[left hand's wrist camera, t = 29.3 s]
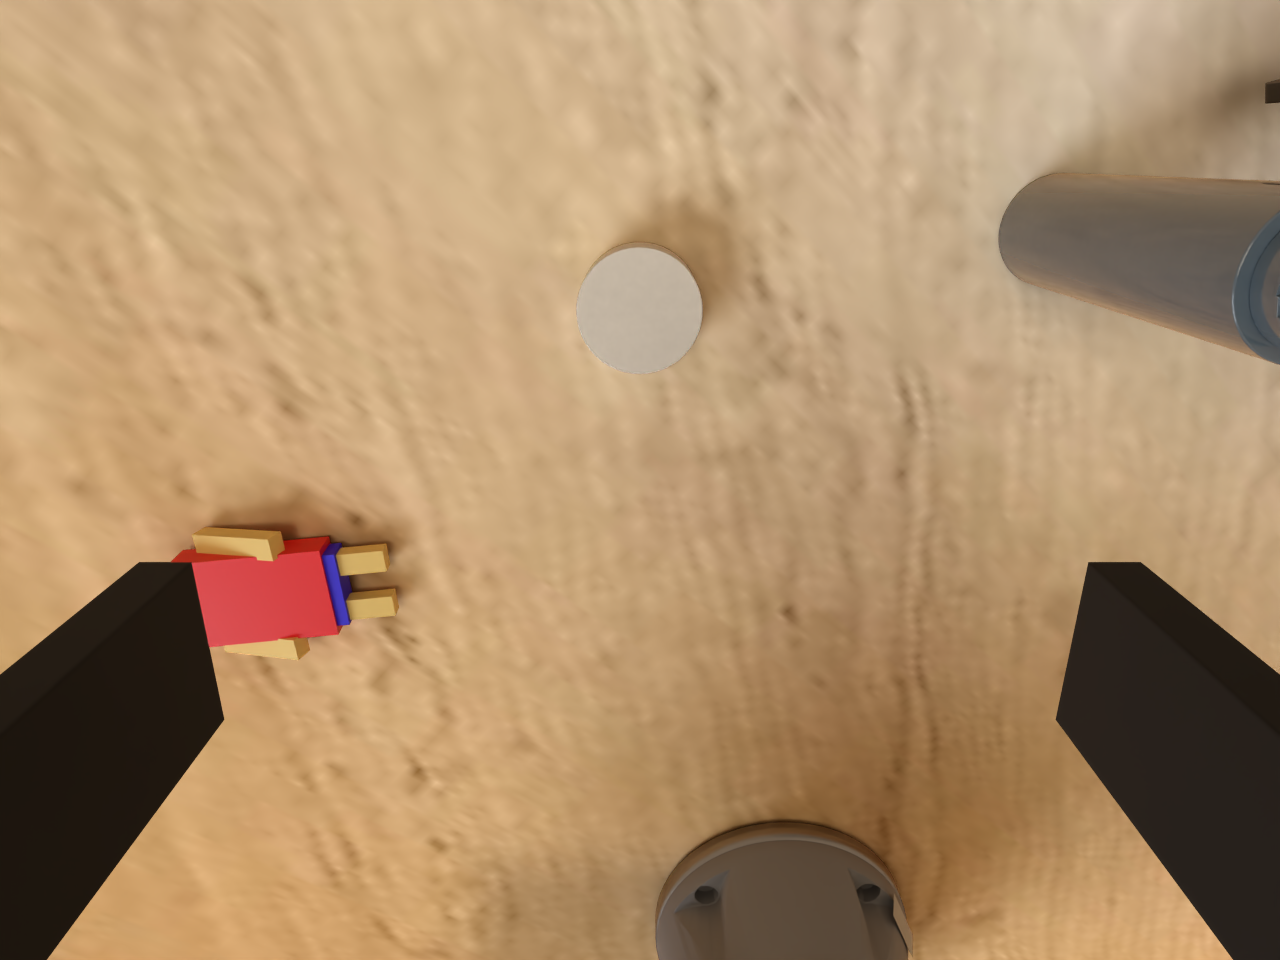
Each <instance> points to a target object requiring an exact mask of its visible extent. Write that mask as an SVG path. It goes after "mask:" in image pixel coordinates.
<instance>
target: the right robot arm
mask: <svg viewBox="0 0 1280 960" xmlns="http://www.w3.org/2000/svg"><path fill="white" fill-rule="evenodd" d="M1265 103H1280V79H1279V80H1275V81H1271V82H1268V83H1266V84H1265Z"/></svg>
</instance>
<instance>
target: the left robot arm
mask: <svg viewBox="0 0 1280 960" xmlns="http://www.w3.org/2000/svg"><path fill="white" fill-rule="evenodd" d="M223 721H224V716H223V711H222V706H221V701H220V697H219V692H218V687H217V682H216V677H215V673H214V668H213V663H212V658H211V653H210V649H209V644H208V639H207V634H206V629H205V625H204V620H203V615H202V610H201V605H200V600H199V596H198V591H197V586H196V581H195V576H194V572H193V567H192V562H139V563H138V564H136V565H135V566H134V567H133V568H131V569H130V570H129V571H128V572H127V573H125V574H124V575H123V576H122V577H120V578H119V579H118V580H117V581H115V582H114V583H113V584H112V585H110V586H109V587H108V588H107V589H106V590H104V591H103V592H102V593H101V594H99V595H98V596H97V597H96V598H94V599H93V600H92V601H91V602H89V603H88V604H87V605H86V606H85V607H83V608H82V609H81V610H80V611H78V612H77V613H76V614H75V615H73V616H72V617H71V618H70V619H68V620H67V621H66V622H65V623H64V624H62V625H61V626H60V627H59V628H57V629H56V630H55V631H54V632H52V633H51V634H50V635H49V636H47V637H46V638H45V639H44V640H43V641H41V642H40V643H39V644H38V645H36V646H35V647H34V648H33V649H31V650H30V651H29V652H28V653H26V654H25V655H24V656H23V657H22V658H20V659H19V660H18V661H17V662H15V663H14V664H13V665H12V666H10V667H9V668H8V669H7V670H5V671H4V672H3V673H2V674H1V675H0V960H47V959H48V957H49V956H50V955H51V953H52V952H53V951H54V949H55V948H56V947H57V945H58V944H59V942H60V941H61V940H62V938H63V937H64V936H65V934H66V933H67V932H68V930H69V929H70V928H71V926H72V925H73V924H74V922H75V921H76V919H77V918H78V917H79V915H80V914H81V913H82V911H83V910H84V909H85V907H86V906H87V905H88V903H89V902H90V901H91V899H92V898H93V896H94V895H95V894H96V892H97V891H98V890H99V888H100V887H101V886H102V884H103V883H104V882H105V880H106V879H107V878H108V876H109V875H110V873H111V872H112V871H113V869H114V868H115V867H116V865H117V864H118V863H119V861H120V860H121V859H122V857H123V856H124V855H125V853H126V852H127V850H128V849H129V848H130V846H131V845H132V844H133V842H134V841H135V840H136V838H137V837H138V836H139V834H140V833H141V832H142V830H143V829H144V827H145V826H146V825H147V823H148V822H149V821H150V819H151V818H152V817H153V815H154V814H155V813H156V811H157V810H158V809H159V807H160V806H161V804H162V803H163V802H164V800H165V799H166V798H167V796H168V795H169V794H170V792H171V791H172V790H173V788H174V787H175V786H176V784H177V783H178V781H179V780H180V779H181V777H182V776H183V775H184V773H185V772H186V771H187V769H188V768H189V767H190V765H191V764H192V762H193V761H194V760H195V758H196V757H197V756H198V754H199V753H200V752H201V750H202V749H203V748H204V746H205V745H206V744H207V742H208V741H209V739H210V738H211V737H212V735H213V734H214V733H215V731H216V730H217V729H218V727H219V726H220V725H221V723H222V722H223ZM1056 721H1057V722H1058V723H1059V725H1060V726H1061V727H1062V729H1063V730H1064V731H1065V733H1066V734H1067V735H1068V737H1069V738H1070V739H1071V741H1072V742H1073V744H1074V745H1075V746H1076V748H1077V749H1078V750H1079V752H1080V753H1081V754H1082V756H1083V757H1084V758H1085V760H1086V761H1087V762H1088V764H1089V765H1090V767H1091V768H1092V769H1093V771H1094V772H1095V773H1096V775H1097V776H1098V777H1099V779H1100V780H1101V781H1102V783H1103V784H1104V786H1105V787H1106V788H1107V790H1108V791H1109V792H1110V794H1111V795H1112V796H1113V798H1114V799H1115V800H1116V802H1117V803H1118V804H1119V806H1120V807H1121V809H1122V810H1123V811H1124V813H1125V814H1126V815H1127V817H1128V818H1129V819H1130V821H1131V822H1132V823H1133V825H1134V826H1135V827H1136V829H1137V830H1138V832H1139V833H1140V834H1141V836H1142V837H1143V838H1144V840H1145V841H1146V842H1147V844H1148V845H1149V846H1150V848H1151V849H1152V850H1153V852H1154V853H1155V855H1156V856H1157V857H1158V859H1159V860H1160V861H1161V863H1162V864H1163V865H1164V867H1165V868H1166V869H1167V871H1168V872H1169V873H1170V875H1171V876H1172V878H1173V879H1174V880H1175V882H1176V883H1177V884H1178V886H1179V887H1180V888H1181V890H1182V891H1183V892H1184V894H1185V895H1186V896H1187V898H1188V899H1189V901H1190V902H1191V903H1192V905H1193V906H1194V907H1195V909H1196V910H1197V911H1198V913H1199V914H1200V915H1201V917H1202V918H1203V919H1204V921H1205V922H1206V924H1207V925H1208V926H1209V928H1210V929H1211V930H1212V932H1213V933H1214V934H1215V936H1216V937H1217V938H1218V940H1219V941H1220V942H1221V944H1222V945H1223V947H1224V948H1225V949H1226V951H1227V952H1228V953H1229V955H1230V956H1231V957H1232V959H1233V960H1280V675H1279V674H1278V673H1277V672H1276V671H1275V670H1273V669H1272V668H1271V667H1270V666H1268V665H1267V664H1266V663H1265V662H1263V661H1262V660H1261V659H1260V658H1258V657H1257V656H1256V655H1255V654H1254V653H1252V652H1251V651H1250V650H1249V649H1247V648H1246V647H1245V646H1244V645H1242V644H1241V643H1240V642H1239V641H1237V640H1236V639H1235V638H1234V637H1233V636H1231V635H1230V634H1229V633H1228V632H1226V631H1225V630H1224V629H1223V628H1221V627H1220V626H1219V625H1218V624H1216V623H1215V622H1214V621H1213V620H1212V619H1210V618H1209V617H1208V616H1207V615H1205V614H1204V613H1203V612H1202V611H1200V610H1199V609H1198V608H1197V607H1195V606H1194V605H1193V604H1192V603H1191V602H1189V601H1188V600H1187V599H1186V598H1184V597H1183V596H1182V595H1181V594H1179V593H1178V592H1177V591H1176V590H1174V589H1173V588H1172V587H1171V586H1170V585H1168V584H1167V583H1166V582H1165V581H1163V580H1162V579H1161V578H1160V577H1158V576H1157V575H1156V574H1155V573H1153V572H1152V571H1151V570H1150V569H1149V568H1147V567H1146V566H1145V565H1144V564H1142V563H1141V562H1088V567H1087V572H1086V576H1085V581H1084V586H1083V591H1082V596H1081V600H1080V605H1079V610H1078V615H1077V620H1076V625H1075V629H1074V634H1073V639H1072V644H1071V649H1070V653H1069V658H1068V663H1067V668H1066V673H1065V677H1064V682H1063V687H1062V692H1061V697H1060V701H1059V706H1058V711H1057V716H1056ZM655 925H656V948H657V952H658V957H659V960H908V949H909V951H910V953H911V955H912V957H913V934H912V932H911V930H910V927H909V925H908V923H907V921H906V914H905V910H904V906H903V903H902V900H901V898H900V895H899V892H898V889H897V886H896V883H895V881H894V879H893V877H892V875H891V873H890V872H889V870H888V869H887V867H886V866H885V864H884V863H883V862H882V861H881V860H880V858H879V857H878V856H877V855H875V854H874V853H873V852H872V851H871V850H870V849H869V848H867V847H866V846H864V845H863V844H862V843H860V842H858V841H857V840H855V839H853V838H851V837H849V836H847V835H845V834H843V833H840V832H838V831H835V830H832V829H829V828H825V827H822V826H817V825H812V824H806V823H796V822H775V823H764V824H757V825H752V826H748V827H743V828H740V829H737V830H733V831H731V832H728V833H725V834H723V835H720V836H718V837H716V838H714V839H712V840H710V841H709V842H707V843H705V844H703V845H702V846H700V847H699V848H697V849H696V850H695V851H693V852H692V853H691V854H689V855H688V856H687V857H686V858H685V859H684V860H683V861H682V862H681V863H680V864H679V865H678V866H677V867H676V868H675V869H674V871H673V872H672V873H671V875H670V876H669V878H668V879H667V881H666V883H665V884H664V886H663V889H662V891H661V893H660V896H659V899H658V902H657V908H656V919H655Z"/></svg>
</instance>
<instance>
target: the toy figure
mask: <svg viewBox="0 0 1280 960" xmlns="http://www.w3.org/2000/svg"><path fill="white" fill-rule="evenodd" d="M192 538H193V541H194V545H195V548H196V549H191V550H183V551H182V552H180V553H179V554H178V555H177V556H176V557H175V558H174V559H173V560H172V561H171V562H192V567H193V572H194V576H195V581H196V586H197V591H198V596H199V600H200V605H201V610H202V615H203V620H204V625H205V629H206V634H207V639H208V644H209V647H216V646H224V649H225V652H230V653H239V654H248V655H257V656H266V657H275V658H284V659H293V660H299V659H300V658H301V657H303V656H304V655H305V654H306V653H307V652H308V651H310V648H309V644H308V640H307V637H317V636H327V635H338V634H339V632H340V630H341V628H342V626H343V625H350V623H351V621H352V620H354V619H364V618H375V617H385V616H395V615H396V613H397V611H398V608H399V605H398V600H397V595H396V590H395V589H385V590H375V591H364V592H354V593H352V589H351V584H350V580H349V575H355V574H365V573H376V572H386V571H387V570H388V568H389V565H390V560H389V555H388V550H387V545H386V544H376V545H366V546H355V547H345V548H342V544H341V543H333V544H330V539H329V536H328V537H317V538H307V539H296V540H286V541H283V539H282V535H281V532H280V531H263V530H246V529H229V528H213V527H205V528H203V529H201V530H200V531H198V532H196V533H194V534H192Z"/></svg>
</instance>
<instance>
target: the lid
mask: <svg viewBox="0 0 1280 960" xmlns="http://www.w3.org/2000/svg"><path fill="white" fill-rule="evenodd" d="M576 314H577V322H578V326H579V330H580V333H581V335H582V338H583V340H584V341H585V343H586V345H587V346H588V348H589V349H590V350H591V352H592V353H593V354H594V355H595V356H596V357H597V358H598V359H600V360H601V361H602V362H603V363H605V364H607V365H608V366H610V367H612V368H614V369H616V370H619V371H622V372H626V373H632V374H647V373H653V372H657V371H660V370H663V369H665V368H667V367H669V366H671V365H673V364H674V363H676V362H677V361H679V360H680V359H681V358H682V357H683V356H684V355H685V354H686V353H687V352H688V351H689V350H690V348H691V347H692V345H693V344H694V342H695V340H696V338H697V336H698V333H699V330H700V328H701V323H702V316H703V305H702V298H701V293H700V290H699V287H698V285H697V283H696V281H695V278H694V276H693V274H692V272H691V271H690V269H689V268H688V266H687V265H686V264H685V263H684V261H683V260H682V259H681V258H679V257H678V256H677V255H676V254H675V253H673V252H672V251H670V250H668V249H666V248H664V247H662V246H659V245H656V244H652V243H647V242H633V243H627V244H623V245H620V246H617V247H615V248H613V249H611V250H609V251H607V252H606V253H605V254H603V255H602V256H601V257H600V258H599V259H598V260H597V261H596V262H595V263H594V264H593V265H592V267H591V268H590V270H589V271H588V273H587V275H586V277H585V279H584V281H583V283H582V286H581V288H580V291H579V295H578V299H577V310H576Z"/></svg>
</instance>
